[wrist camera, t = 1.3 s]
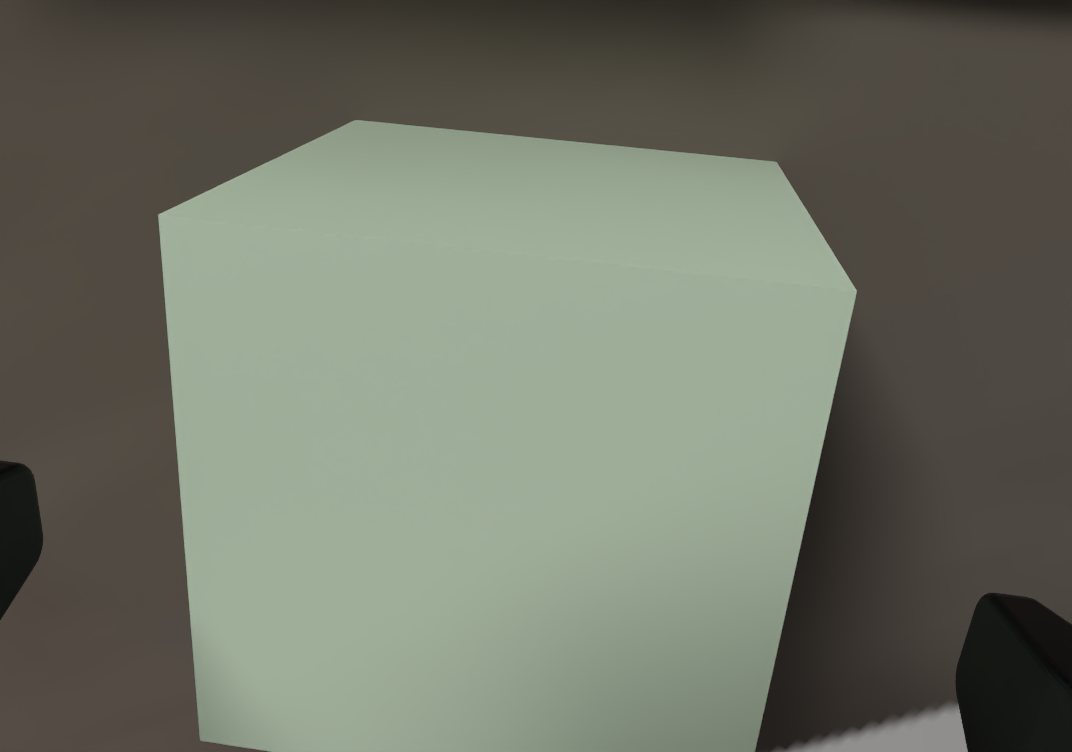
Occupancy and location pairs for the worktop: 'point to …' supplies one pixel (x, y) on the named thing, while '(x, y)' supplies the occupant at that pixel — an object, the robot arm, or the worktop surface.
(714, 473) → the sage cube
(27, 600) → the worktop surface
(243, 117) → the worktop surface
